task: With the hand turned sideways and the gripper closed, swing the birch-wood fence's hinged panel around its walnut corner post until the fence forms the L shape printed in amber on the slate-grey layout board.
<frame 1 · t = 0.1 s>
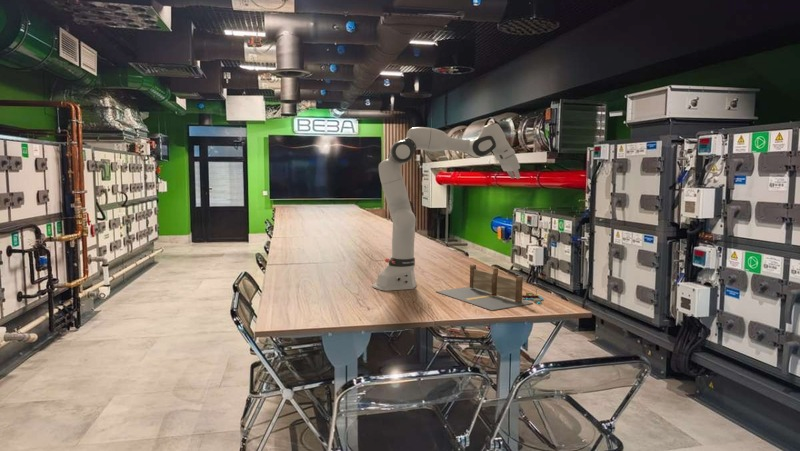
hand: (515, 178, 260), 54 cm above the table, tool tilted 30°, fingers open, 8 cm apart
fence panel: (481, 278, 249), point 7 cm above the table, hinge at 0.0°
gear mechanism: (531, 300, 238), on the table
fence fixed: (494, 296, 242), resting on layout board
layout board: (482, 297, 239), on the table
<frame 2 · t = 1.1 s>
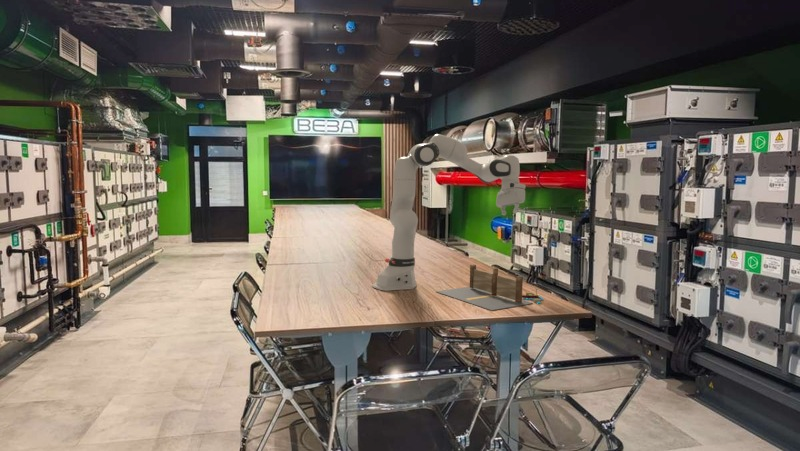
hand: (509, 213, 266), 36 cm above the table, tool pointing down, fingers open, 8 cm apart
nothing on the table moved.
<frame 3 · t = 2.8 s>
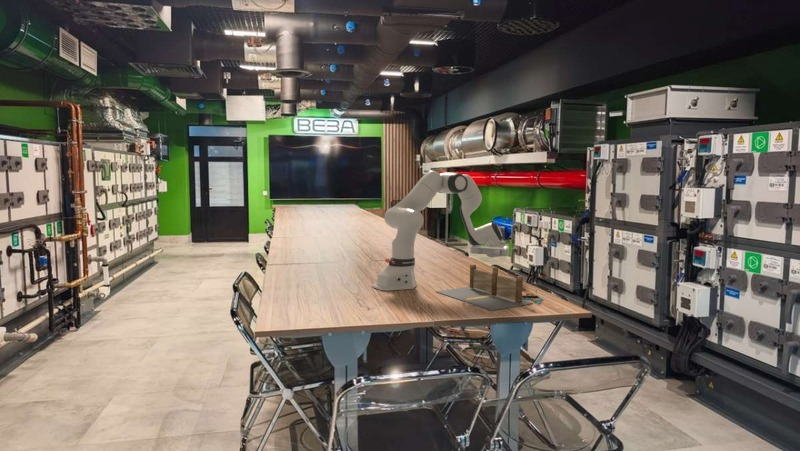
hand: (486, 252, 268), 16 cm above the table, tool horizontal, fingers open, 7 cm apart
nothing on the table moved.
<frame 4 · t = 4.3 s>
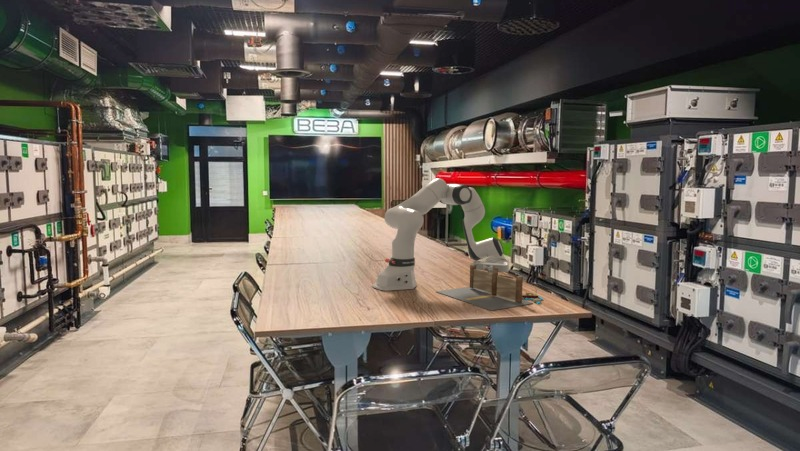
hand: (486, 269, 269), 8 cm above the table, tool horizontal, fingers closed
nothing on the table moved.
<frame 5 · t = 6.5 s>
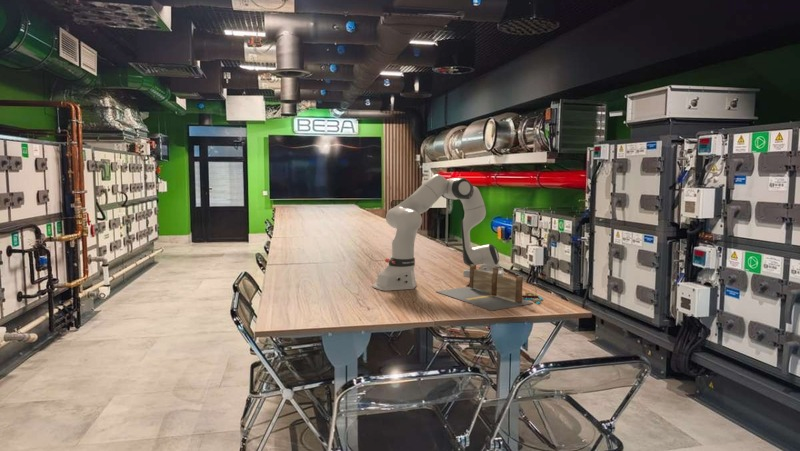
hand: (480, 277, 258), 5 cm above the table, tool horizontal, fingers closed
nothing on the table moved.
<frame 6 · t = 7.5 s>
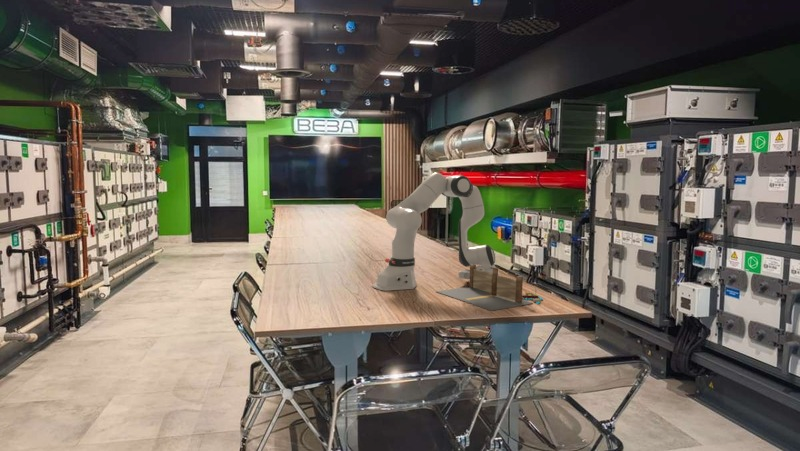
hand: (475, 278, 256), 5 cm above the table, tool horizontal, fingers closed
fence panel: (481, 278, 249), point 7 cm above the table, hinge at 0.4°, touching gripper
everything else where it was.
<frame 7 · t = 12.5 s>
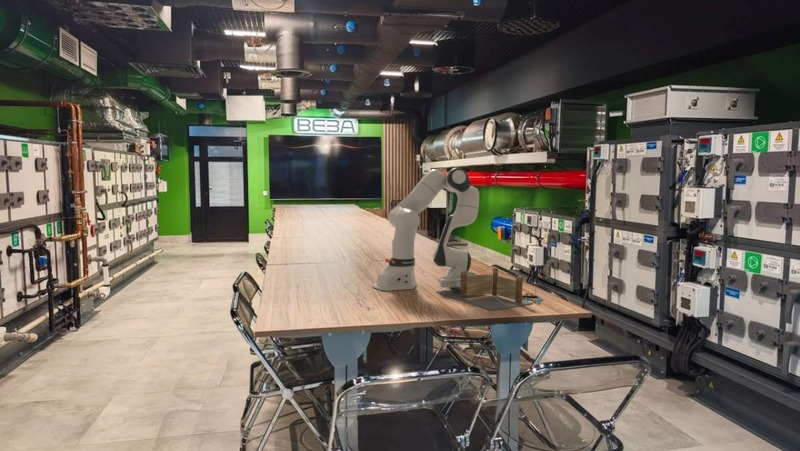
hand: (464, 285, 238), 5 cm above the table, tool horizontal, fingers closed, pressing on fence panel
fence panel: (476, 283, 239), point 7 cm above the table, hinge at 74.8°, touching gripper
everything else where it was.
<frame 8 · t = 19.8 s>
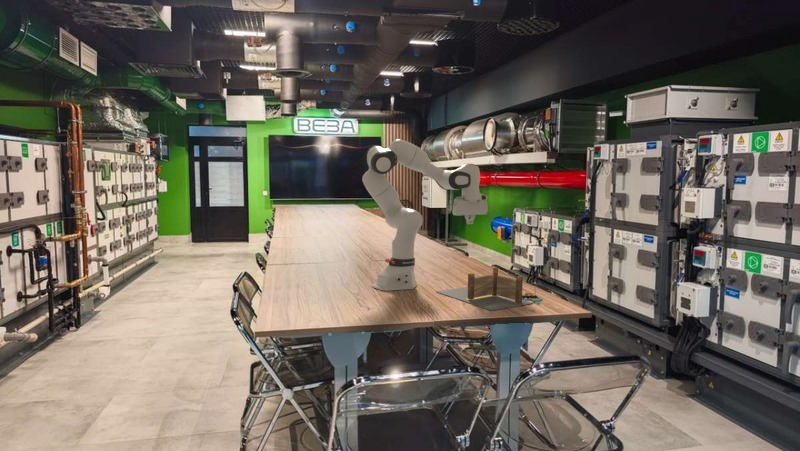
hand: (469, 224, 263), 31 cm above the table, tool pointing down, fingers closed
fence panel: (481, 284, 236), point 7 cm above the table, hinge at 95.6°
everything else where it was.
at the end: fence panel at +96° (first picture: +0°) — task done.
